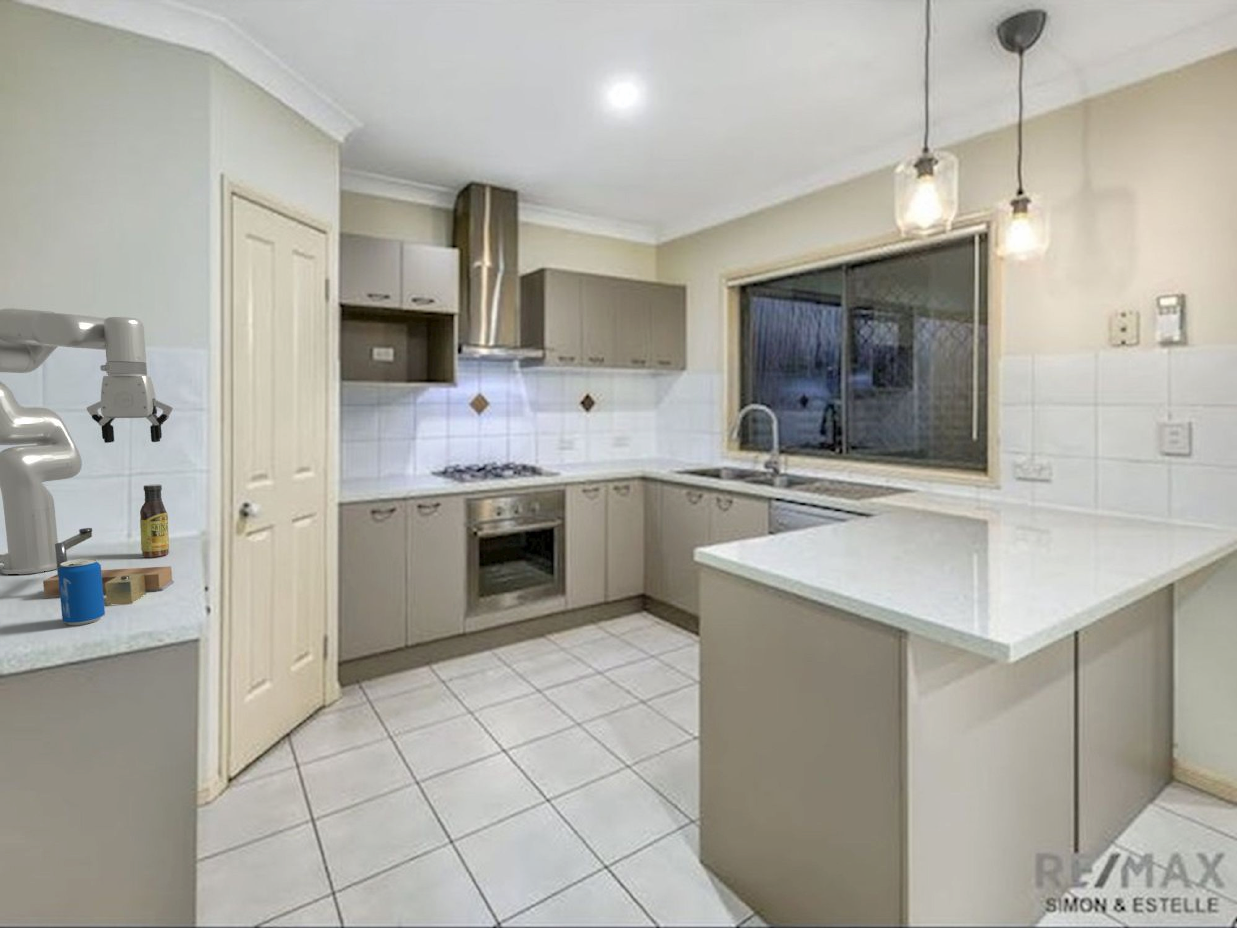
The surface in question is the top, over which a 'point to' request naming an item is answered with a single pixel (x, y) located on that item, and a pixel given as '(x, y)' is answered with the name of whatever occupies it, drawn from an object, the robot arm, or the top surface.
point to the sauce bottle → (154, 523)
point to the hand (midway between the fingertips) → (132, 442)
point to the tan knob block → (125, 589)
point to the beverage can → (81, 591)
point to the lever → (70, 545)
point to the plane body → (153, 576)
